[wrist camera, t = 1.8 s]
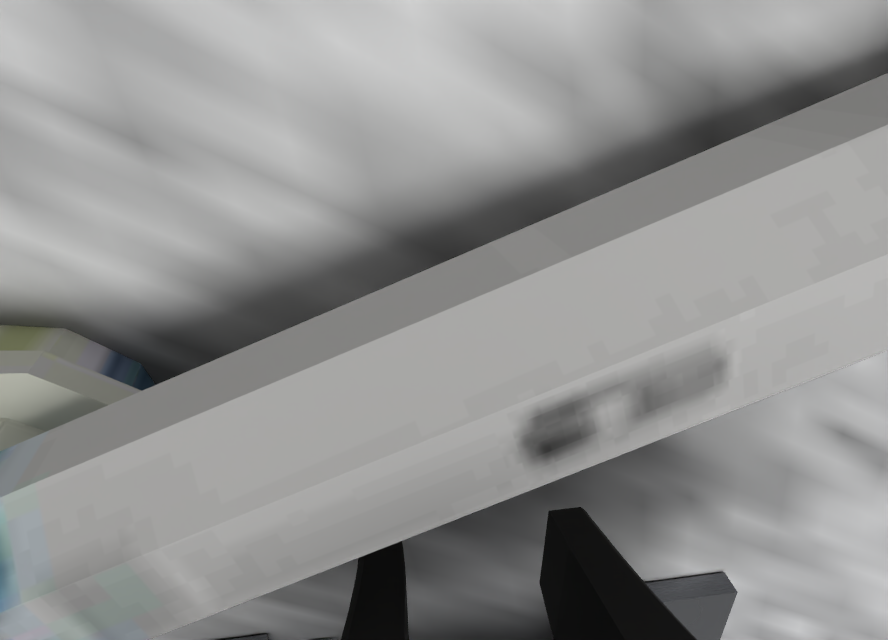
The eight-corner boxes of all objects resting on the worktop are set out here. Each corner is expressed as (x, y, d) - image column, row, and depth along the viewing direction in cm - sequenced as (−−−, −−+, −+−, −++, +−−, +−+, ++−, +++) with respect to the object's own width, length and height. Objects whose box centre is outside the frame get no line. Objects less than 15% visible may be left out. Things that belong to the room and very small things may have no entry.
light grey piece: (1461, 229, 8) (-366, 1131, 6) (972, 154, 14) (-51, 590, 12) (1745, -237, 6) (-1239, 987, 3) (1011, -95, 12) (-282, 390, 9)
